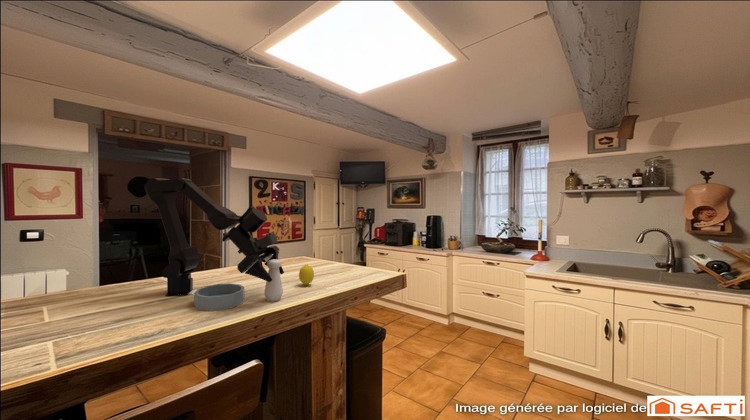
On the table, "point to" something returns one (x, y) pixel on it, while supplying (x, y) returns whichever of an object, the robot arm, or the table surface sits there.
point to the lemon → (306, 274)
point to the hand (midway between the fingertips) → (277, 277)
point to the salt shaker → (274, 281)
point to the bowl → (219, 297)
